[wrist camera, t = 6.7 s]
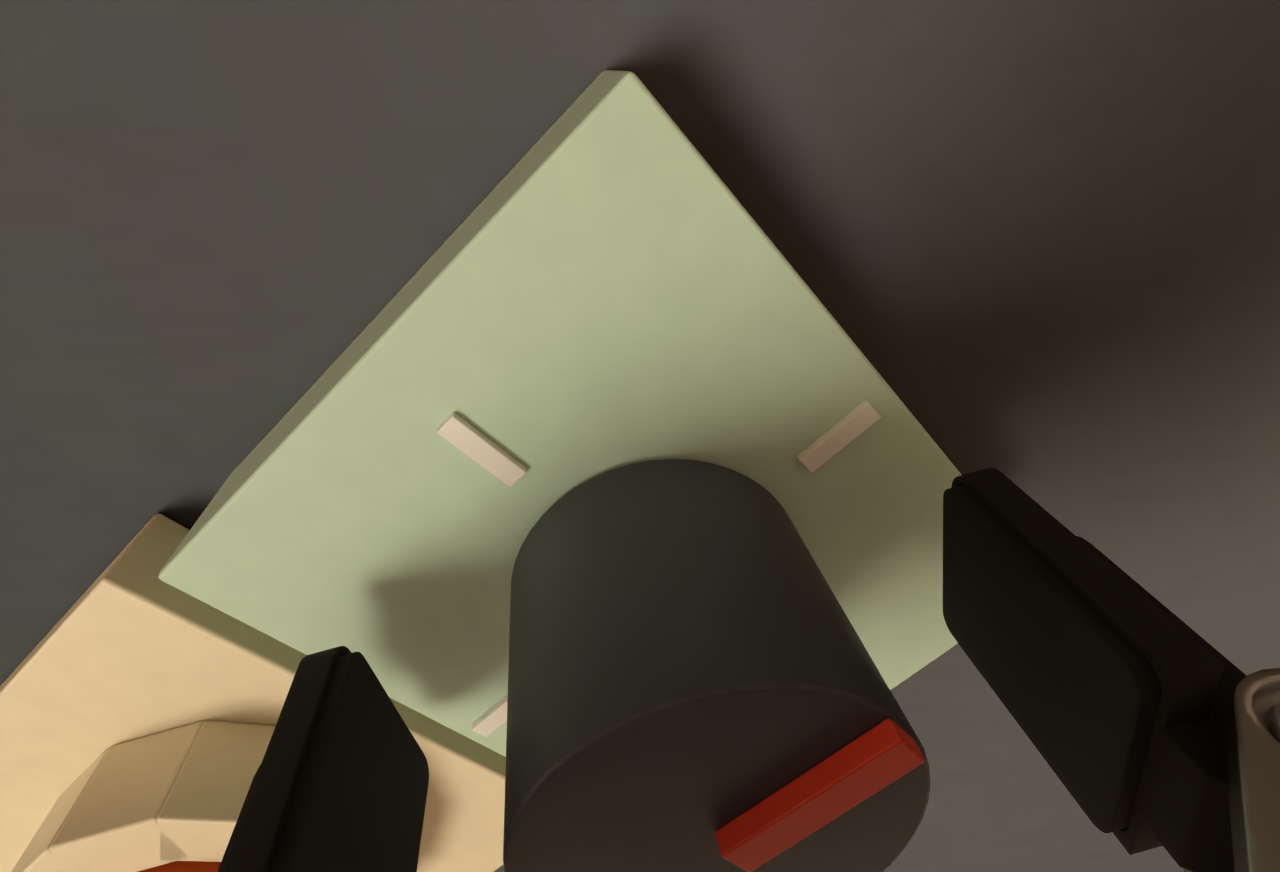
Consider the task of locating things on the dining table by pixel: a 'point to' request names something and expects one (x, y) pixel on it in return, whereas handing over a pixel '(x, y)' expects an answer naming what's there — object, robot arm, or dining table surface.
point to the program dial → (694, 691)
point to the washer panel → (569, 422)
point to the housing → (181, 734)
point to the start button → (186, 867)
